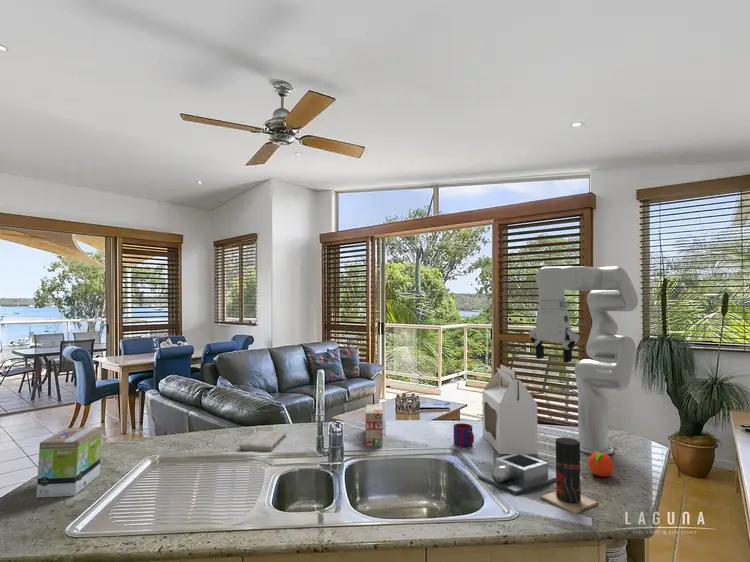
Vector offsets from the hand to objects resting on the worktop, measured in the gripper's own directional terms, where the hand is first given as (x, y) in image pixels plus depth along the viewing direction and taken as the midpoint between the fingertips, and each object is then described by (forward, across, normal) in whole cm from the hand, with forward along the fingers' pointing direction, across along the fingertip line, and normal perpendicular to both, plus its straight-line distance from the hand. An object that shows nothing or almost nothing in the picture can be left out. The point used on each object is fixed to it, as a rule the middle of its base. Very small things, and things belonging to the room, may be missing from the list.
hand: (553, 360), depth 141 cm
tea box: (+30, +70, +126) cm, 147 cm away
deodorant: (+33, -15, +18) cm, 40 cm away
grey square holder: (+34, +2, +15) cm, 37 cm away
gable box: (+35, +24, -6) cm, 43 cm away
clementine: (+34, -11, -6) cm, 37 cm away
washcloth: (+33, +75, +67) cm, 106 cm away
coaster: (+33, -15, +18) cm, 41 cm away
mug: (+34, +31, +8) cm, 47 cm away
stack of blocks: (+34, +58, +30) cm, 73 cm away
